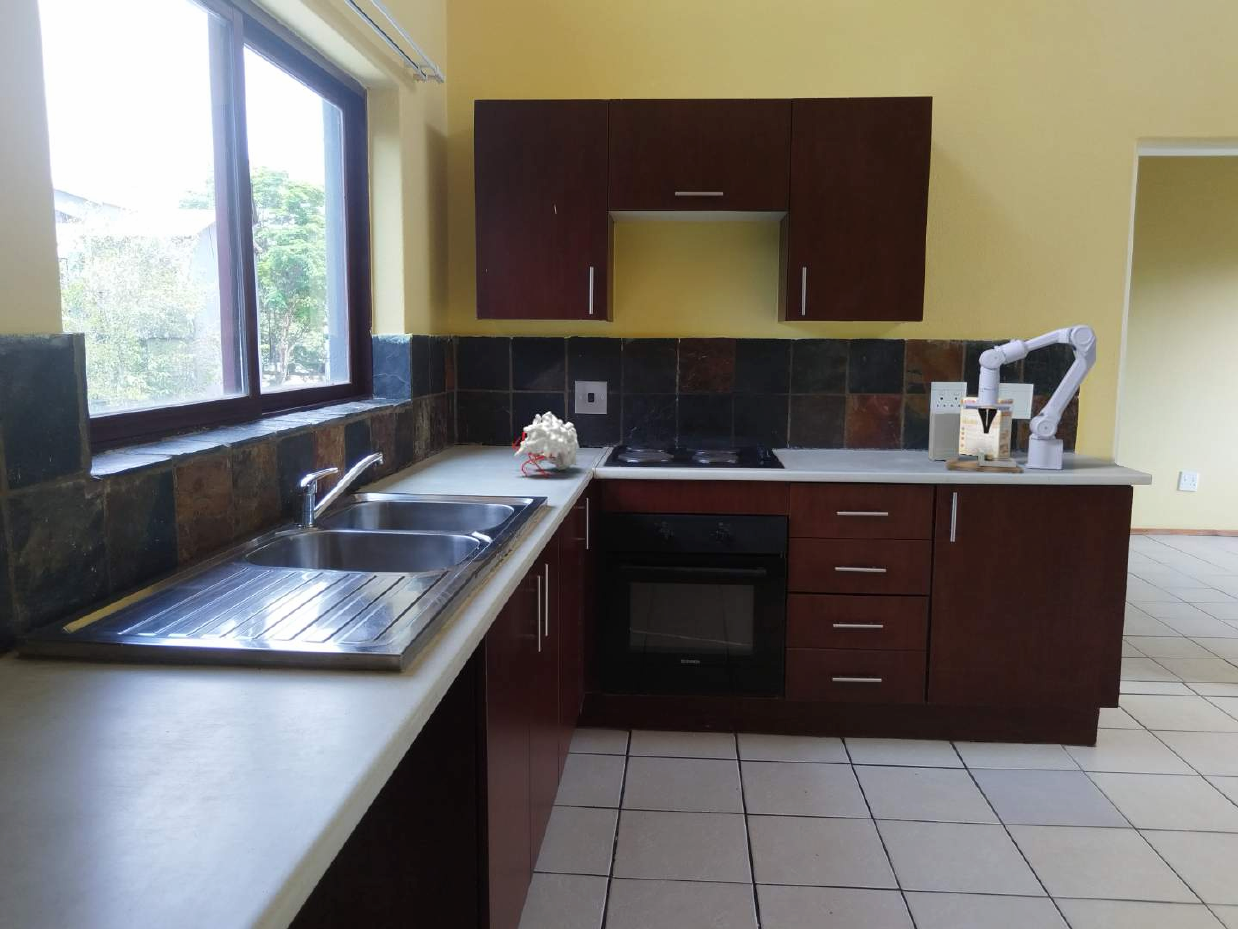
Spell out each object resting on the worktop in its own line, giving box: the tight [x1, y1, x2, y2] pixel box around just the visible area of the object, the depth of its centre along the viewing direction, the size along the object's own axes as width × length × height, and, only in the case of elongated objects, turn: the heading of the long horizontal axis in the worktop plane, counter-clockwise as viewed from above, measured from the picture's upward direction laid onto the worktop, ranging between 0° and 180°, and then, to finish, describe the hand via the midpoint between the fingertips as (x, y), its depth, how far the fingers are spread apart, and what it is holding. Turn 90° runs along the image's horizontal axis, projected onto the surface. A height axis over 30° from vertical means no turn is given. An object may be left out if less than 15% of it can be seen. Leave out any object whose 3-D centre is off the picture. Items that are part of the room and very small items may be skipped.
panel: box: [977, 448, 1017, 468], centre depth 272 cm, size 10×11×4 cm
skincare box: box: [928, 410, 961, 461], centre depth 291 cm, size 8×7×16 cm
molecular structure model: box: [511, 411, 580, 478], centre depth 255 cm, size 20×18×25 cm
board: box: [945, 455, 1021, 474], centre depth 273 cm, size 20×14×4 cm
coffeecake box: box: [959, 396, 1014, 458], centre depth 302 cm, size 15×7×20 cm, turn 34°
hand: (986, 433), depth 279 cm, fingers closed
